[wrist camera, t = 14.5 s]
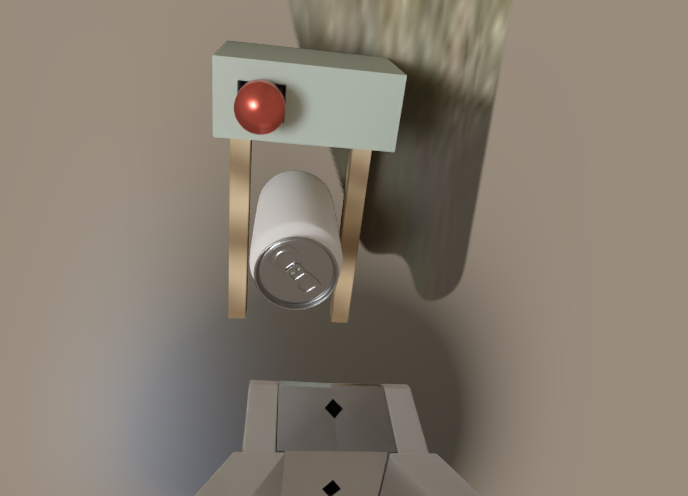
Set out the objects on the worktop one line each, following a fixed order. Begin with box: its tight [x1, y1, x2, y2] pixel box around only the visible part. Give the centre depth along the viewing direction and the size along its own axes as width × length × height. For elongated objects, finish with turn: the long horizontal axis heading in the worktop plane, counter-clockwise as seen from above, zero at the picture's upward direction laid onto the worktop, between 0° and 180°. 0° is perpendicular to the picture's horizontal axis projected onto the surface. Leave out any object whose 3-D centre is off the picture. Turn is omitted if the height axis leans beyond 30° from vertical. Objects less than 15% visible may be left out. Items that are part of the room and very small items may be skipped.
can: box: [249, 171, 343, 310], centre depth 39 cm, size 6×6×12 cm
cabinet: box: [212, 41, 407, 152], centre depth 36 cm, size 5×12×8 cm, turn 84°
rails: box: [228, 138, 372, 323], centre depth 45 cm, size 17×11×2 cm, turn 174°
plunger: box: [234, 79, 285, 135], centre depth 34 cm, size 3×3×8 cm
